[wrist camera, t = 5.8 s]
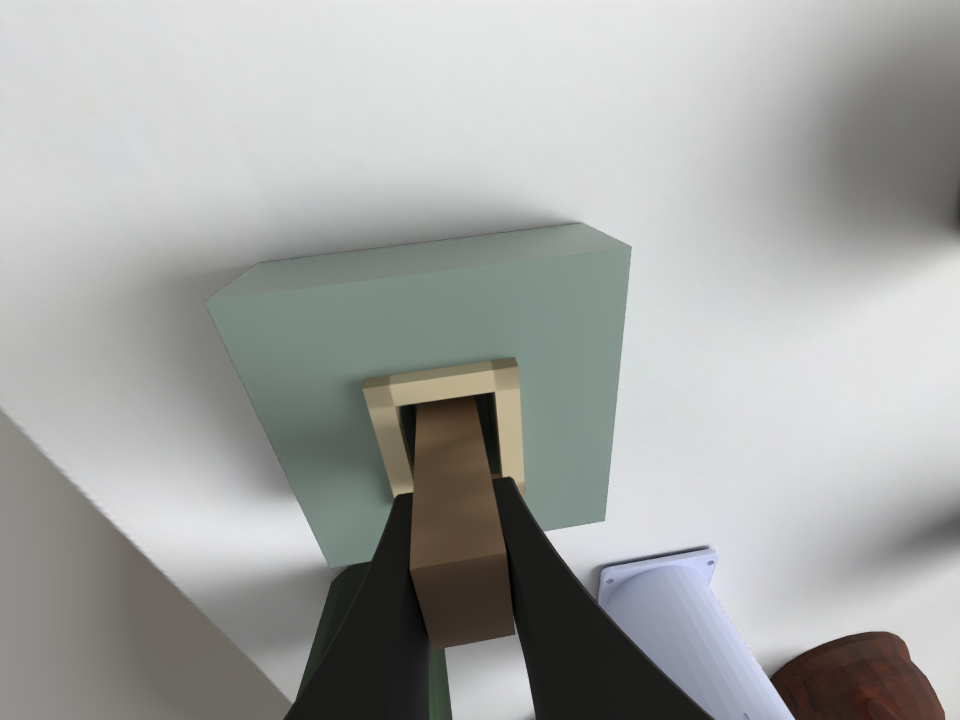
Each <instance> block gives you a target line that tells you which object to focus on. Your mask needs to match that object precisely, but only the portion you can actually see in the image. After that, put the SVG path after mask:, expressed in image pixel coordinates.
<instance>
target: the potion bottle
mask: <svg viewBox="0 0 960 720" xmlns="http://www.w3.org/2000/svg"><path fill="white" fill-rule="evenodd" d="M370 562H371V561H369V562H363V563H358V564H355V565H353V566H351V567H349V568H347V569H346V570H345V571H344V572H342V573H341V574H340V575H339V576H338V577H337V578H336V579H335V580H334V581H333V582H332V583H331V586H330V590H329V593H328V596H327V599H326V603H325V606H324V609H323V613H322V616H321V619H320V622H319V626H318V629H317V632H316V635H315V639H314V642H313V645H312V649H311V652H310V655H309V658H308V662H307V665H306V668H305V671H304V675H303V678H302V681H301V684H300V688H299V691H298V694H297V698H298V696H299V694H300V693H301V691H302V690H303V688H304V686H305V685H306V683H307V681H308V680H309V678H310V676H311V675H312V673H313V672H314V670H315V668H316V667H317V665H318V663H319V662H320V660H321V658H322V657H323V655H324V653H325V651H326V650H327V648H328V646H329V644H330V643H331V641H332V639H333V637H334V635H335V634H336V632H337V630H338V628H339V626H340V624H341V622H342V621H343V619H344V617H345V615H346V613H347V611H348V609H349V607H350V605H351V603H352V601H353V599H354V597H355V595H356V593H357V591H358V588H359V586H360V584H361V582H362V580H363V578H364V576H365V574H366V572H367V569H368V567H369V565H370ZM297 698H296V699H297ZM429 712H430V720H452V711H451V702H450V693H449V685H448V676H447V667H446V658H445V650H444V648H442V649H437V650H432V646H431V643H430V660H429Z"/></svg>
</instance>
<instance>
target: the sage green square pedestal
mask: <svg viewBox="0 0 960 720" xmlns="http://www.w3.org/2000/svg"><path fill="white" fill-rule="evenodd" d="M631 249H632V246H630V245H627V244H625V243H623V242H621V241H619V240H617V239H615V238H613V237H611V236H609V235H607V234H605V233H603V232H601V231H599V230H597V229H595V228H593V227H591V226H589V225H586V224H584V223H577V224H569V225H560V226H552V227H544V228H536V229H528V230H520V231H512V232H504V233H495V234H487V235H479V236H471V237H463V238H455V239H447V240H439V241H431V242H422V243H414V244H406V245H398V246H390V247H382V248H374V249H366V250H357V251H349V252H341V253H333V254H325V255H317V256H309V257H301V258H292V259H284V260H276V261H268V262H260V263H258V264H256V265H255V266H253V267H252V268H251V269H249V270H248V271H246V272H245V273H243V274H242V275H241V276H239V277H238V278H236V279H235V280H233V281H232V282H231V283H229V284H228V285H226V286H225V287H223V288H222V289H221V290H219V291H218V292H216V293H215V294H214V295H212V296H211V297H209V298H208V299H206V300H205V301H204V303H205V305H206V307H207V309H208V312H209V314H210V316H211V318H212V320H213V322H214V324H215V326H216V328H217V331H218V333H219V335H220V337H221V339H222V341H223V343H224V345H225V348H226V350H227V352H228V354H229V356H230V358H231V360H232V362H233V364H234V367H235V369H236V371H237V373H238V375H239V377H240V379H241V381H242V384H243V386H244V388H245V390H246V392H247V394H248V396H249V398H250V400H251V403H252V405H253V407H254V409H255V411H256V413H257V415H258V417H259V419H260V422H261V424H262V426H263V428H264V430H265V432H266V434H267V436H268V439H269V441H270V443H271V445H272V447H273V449H274V451H275V453H276V455H277V458H278V460H279V462H280V464H281V466H282V468H283V470H284V472H285V474H286V477H287V479H288V481H289V483H290V485H291V487H292V489H293V491H294V494H295V496H296V498H297V500H298V502H299V504H300V506H301V508H302V510H303V513H304V515H305V517H306V519H307V521H308V523H309V525H310V527H311V530H312V532H313V534H314V536H315V538H316V540H317V542H318V544H319V546H320V549H321V551H322V553H323V555H324V557H325V559H326V561H327V563H328V565H329V568H334V567H340V566H346V565H352V564H358V563H363V562H369V561H371V560H372V558H373V555H374V553H375V551H376V548H377V546H378V544H379V541H380V538H381V536H382V533H383V531H384V528H385V525H386V523H387V520H388V517H389V514H390V511H391V508H392V505H393V501H394V498H395V497H396V496H397V495H398V494H404V493H410V492H413V484H414V462H415V440H416V419H417V403H422V402H428V401H435V400H442V399H449V398H455V397H462V396H469V395H474V396H475V401H476V406H477V411H478V416H479V420H480V425H481V430H482V435H483V440H484V445H485V450H486V455H487V460H488V465H489V469H490V474H491V479H496V478H502V477H508V476H510V477H512V478H513V479H514V481H515V483H516V486H517V488H518V490H519V492H520V494H521V496H522V498H523V499H524V501H525V503H526V505H527V507H528V508H529V510H530V512H531V513H532V515H533V517H534V518H535V520H536V521H537V523H538V525H539V526H540V528H541V529H542V531H549V530H555V529H561V528H567V527H572V526H578V525H584V524H590V523H596V522H601V521H605V513H606V503H607V493H608V483H609V473H610V462H611V452H612V442H613V432H614V422H615V412H616V401H617V391H618V381H619V371H620V361H621V351H622V340H623V330H624V320H625V310H626V300H627V290H628V279H629V269H630V259H631Z"/></svg>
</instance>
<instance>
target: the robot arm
mask: <svg viewBox="0 0 960 720" xmlns="http://www.w3.org/2000/svg"><path fill="white" fill-rule="evenodd" d="M492 484H493V489H494V494H495V499H496V504H497V509H498V513H499V518H500V523H501V528H502V533H503V538H504V543H505V548H506V553H507V562H508V572H509V581H510V591H511V600H512V610H513V616H514V620H515V624H516V627H517V631H518V635H519V639H520V643H521V646H522V650H523V654H524V659H525V663H526V668H527V672H528V677H529V683H530V688H531V694H532V699H533V705H534V710H535V715H536V720H795V719H794V717H793V716H792V714H791V713H790V711H789V709H788V708H787V706H786V705H785V703H784V702H783V700H782V699H781V697H780V695H779V694H778V692H777V691H776V689H775V688H774V686H773V685H772V683H771V682H770V680H769V678H768V677H767V675H766V674H765V672H764V671H763V669H762V668H761V666H760V664H759V663H758V661H757V660H756V658H755V657H754V655H753V654H752V652H751V650H750V649H749V647H748V646H747V644H746V643H745V641H744V640H743V638H742V637H741V635H740V633H739V632H738V630H737V629H736V627H735V626H734V624H733V623H732V621H731V619H730V618H729V616H728V615H727V613H726V612H725V610H724V609H723V607H722V605H721V604H720V602H719V601H718V599H717V598H716V596H715V595H714V593H713V591H712V590H711V588H710V587H709V584H710V581H711V578H712V575H713V572H714V569H715V566H716V563H717V560H718V557H719V554H718V553H717V552H716V550H715V549H706V550H700V551H695V552H689V553H683V554H678V555H672V556H667V557H661V558H656V559H650V560H644V561H639V562H633V563H628V564H622V565H617V566H611V567H607V568H605V569H603V570H602V572H601V577H600V587H599V597H598V603H597V601H596V600H595V599H594V598H593V597H592V596H591V594H590V593H589V592H588V591H587V590H586V588H585V587H584V586H583V585H582V584H581V582H580V581H579V580H578V579H577V577H576V576H575V575H574V574H573V572H572V571H571V570H570V568H569V567H568V566H567V564H566V563H565V562H564V560H563V559H562V558H561V556H560V555H559V554H558V552H557V551H556V550H555V548H554V547H553V545H552V544H551V542H550V541H549V539H548V538H547V536H546V535H545V533H544V532H543V531H542V529H541V528H540V526H539V525H538V523H537V521H536V520H535V518H534V517H533V515H532V513H531V512H530V510H529V508H528V507H527V505H526V503H525V501H524V499H523V498H522V496H521V494H520V492H519V490H518V488H517V486H516V483H515V481H514V479H513V478H512V477H510V476H508V477H502V478H496V479H492ZM412 506H413V492H410V493H404V494H398V495H397V496H396V497H395V498H394V501H393V505H392V508H391V511H390V514H389V517H388V520H387V523H386V525H385V528H384V531H383V533H382V536H381V538H380V541H379V544H378V546H377V548H376V551H375V553H374V555H373V558H372V560H371V562H370V565H369V567H368V569H367V572H366V574H365V576H364V578H363V580H362V582H361V584H360V586H359V588H358V591H357V593H356V595H355V597H354V599H353V601H352V603H351V605H350V607H349V609H348V611H347V613H346V615H345V617H344V619H343V621H342V622H341V624H340V626H339V628H338V630H337V632H336V634H335V635H334V637H333V639H332V641H331V643H330V644H329V646H328V648H327V650H326V651H325V653H324V655H323V657H322V658H321V660H320V662H319V663H318V665H317V667H316V668H315V670H314V672H313V673H312V675H311V676H310V678H309V680H308V681H307V683H306V685H305V686H304V688H303V690H302V691H301V693H300V694H299V696H298V698H297V699H296V701H295V702H294V704H293V705H292V707H291V709H290V710H289V712H288V714H287V715H286V716H285V718H284V719H283V720H430V712H429V660H430V639H429V636H428V632H427V629H426V625H425V622H424V618H423V615H422V611H421V608H420V604H419V601H418V597H417V594H416V590H415V587H414V583H413V580H412V576H411V573H410V550H411V528H412Z"/></svg>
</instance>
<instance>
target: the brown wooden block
mask: <svg viewBox="0 0 960 720" xmlns="http://www.w3.org/2000/svg"><path fill="white" fill-rule="evenodd" d="M410 573H411V576H412V580H413V583H414V587H415V590H416V594H417V597H418V601H419V604H420V608H421V611H422V615H423V618H424V622H425V625H426V629H427V632H428V636H429V639H430V643H431V646H432V650H437V649H442V648H447V647H453V646H458V645H463V644H468V643H474V642H479V641H484V640H489V639H495V638H500V637H505V636H510V635H515V629H514V619H513V610H512V600H511V591H510V581H509V572H508V562H507V553H506V548H505V543H504V538H503V533H502V528H501V523H500V518H499V513H498V509H497V504H496V499H495V494H494V489H493V484H492V479H491V474H490V469H489V465H488V460H487V455H486V450H485V445H484V440H483V435H482V430H481V425H480V420H479V416H478V411H477V406H476V401H475V396H474V395H469V396H462V397H455V398H449V399H442V400H435V401H428V402H422V403H417V419H416V440H415V462H414V484H413V506H412V528H411V550H410Z"/></svg>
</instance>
